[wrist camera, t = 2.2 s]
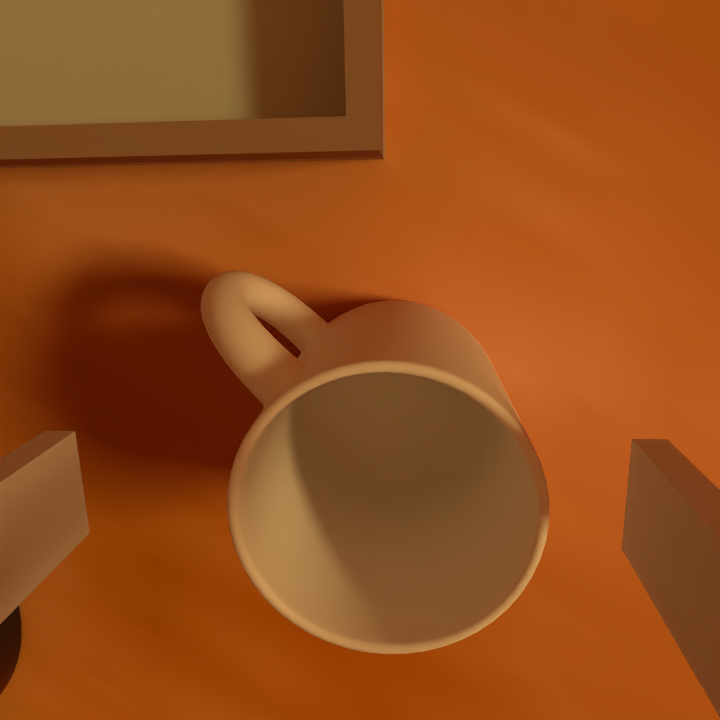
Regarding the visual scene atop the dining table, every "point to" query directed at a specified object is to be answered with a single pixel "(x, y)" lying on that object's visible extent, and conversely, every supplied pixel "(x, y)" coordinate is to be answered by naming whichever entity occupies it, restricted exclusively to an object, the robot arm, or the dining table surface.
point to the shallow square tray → (190, 81)
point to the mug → (376, 470)
